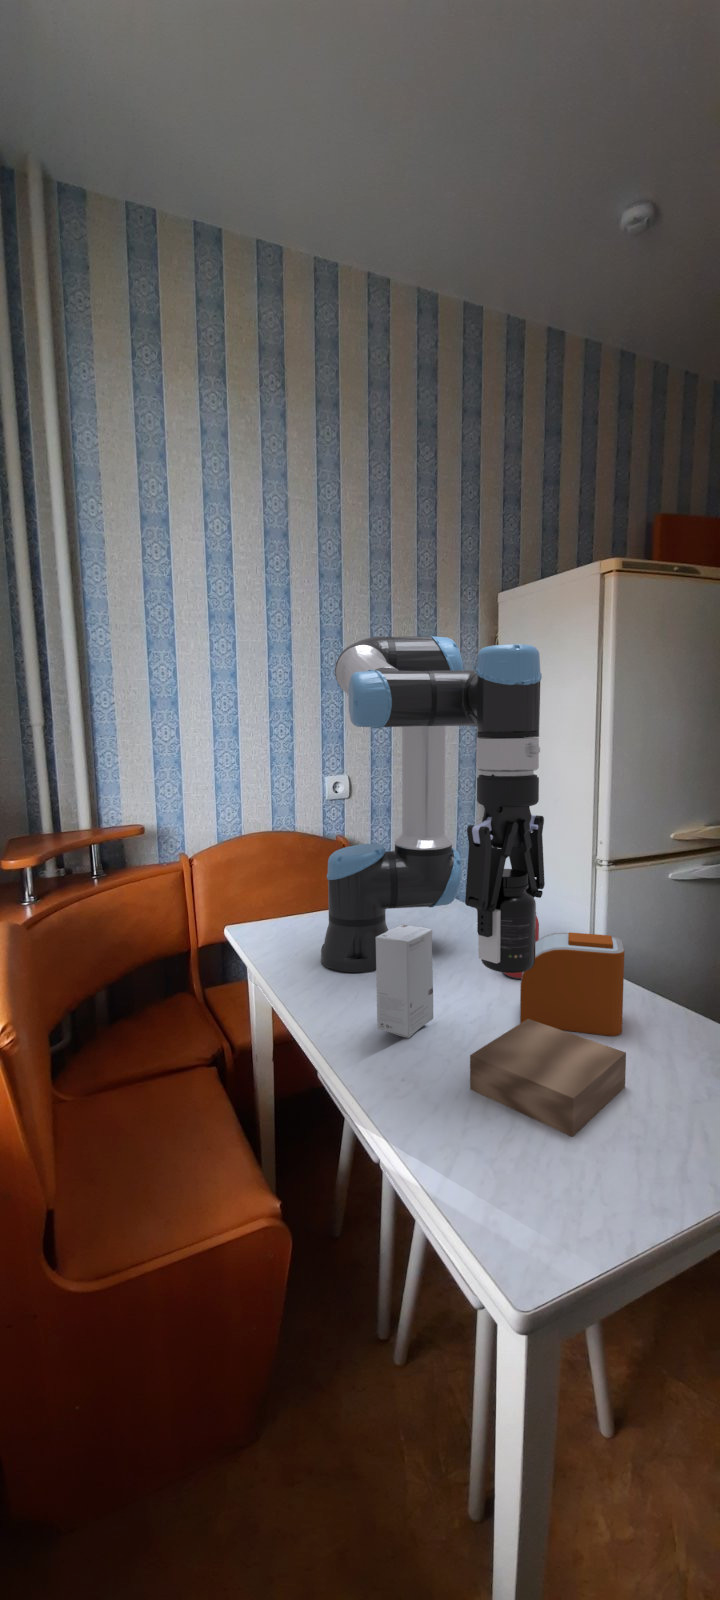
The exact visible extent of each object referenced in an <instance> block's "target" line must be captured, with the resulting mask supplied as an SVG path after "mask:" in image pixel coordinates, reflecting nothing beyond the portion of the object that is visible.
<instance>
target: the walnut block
mask: <svg viewBox="0 0 720 1600" xmlns="http://www.w3.org/2000/svg"><path fill="white" fill-rule="evenodd" d="M626 1066H627V1052H626V1051H623V1050H620V1049H616V1048H614V1047H611V1046H608V1045H605V1044H602V1043H599V1042H596V1041H594V1040H591V1039H588V1038H585V1037H582V1036H579V1035H576V1034H573V1033H570V1032H569V1031H565V1030H559V1029H556V1028H553V1027H551V1026H548V1025H545V1024H542V1023H539V1022H536V1021H533V1020H530V1019H527V1020H525V1021H524V1022H522V1023H521V1024H520V1023H519V1024H517V1025H516V1026H514V1027H512V1028H511V1029H510V1030H507V1031H506V1032H505V1033H503V1034H501V1035H500V1036H498V1037H497V1038H495V1039H494V1040H492V1041H490V1042H488V1043H487V1044H485V1045H484V1046H482V1047H481V1048H479V1049H478V1050H476V1051H474V1052H473V1053H471V1054H470V1055H469V1090H471V1091H473V1092H475V1093H477V1094H480V1095H482V1096H484V1097H486V1098H488V1099H491V1100H492V1101H494V1102H496V1103H499V1104H501V1105H503V1106H505V1107H508V1108H509V1109H511V1110H514V1111H516V1112H518V1113H520V1114H523V1116H526V1117H528V1118H531V1119H534V1120H535V1121H537V1122H540V1123H542V1124H544V1125H545V1126H549V1127H550V1128H553V1129H555V1130H556V1131H559V1132H561V1133H563V1134H566V1135H568V1136H570V1137H572V1138H574V1136H575V1135H576V1134H578V1133H579V1132H580V1131H581V1130H582V1129H583V1128H584V1127H585V1126H586V1125H587V1124H588V1123H589V1122H591V1120H593V1118H594V1117H596V1115H597V1114H599V1113H600V1112H601V1110H602V1109H604V1108H605V1107H606V1106H607V1105H608V1104H609V1103H610V1102H611V1101H612V1100H613V1099H614V1098H615V1097H616V1096H618V1094H619V1093H620V1092H621V1091H622V1090H623V1089H625V1088H626V1069H627V1068H626Z"/></svg>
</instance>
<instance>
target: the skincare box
mask: <svg viewBox="0 0 720 1600" xmlns="http://www.w3.org/2000/svg"><path fill="white" fill-rule="evenodd" d="M433 969H434V968H433V929H432V928H427V927H420V926H414V925H405V924H401V925H398V926H397V927H394V928H391V929H388V931H387V932H385V933H383V934H381V935H379V936H377V937H376V970H375V971H376V972H375V973H376V1015H377V1016H376V1017H377V1018H376V1025H377V1030H380V1031H384V1032H387V1033H391V1034H394V1035H396V1036H399V1037H403V1038H406V1039H409V1038H411V1037H412V1036H413V1035H414V1034H415V1033H416V1032H417V1031H419V1029H421V1028H423V1027H424V1026H425V1025H426V1024H428V1023H429V1022H431V1021H432V1020H433V1019H434V981H433V979H434V978H433V977H434V975H433V974H434V973H433V972H434V971H433Z"/></svg>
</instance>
